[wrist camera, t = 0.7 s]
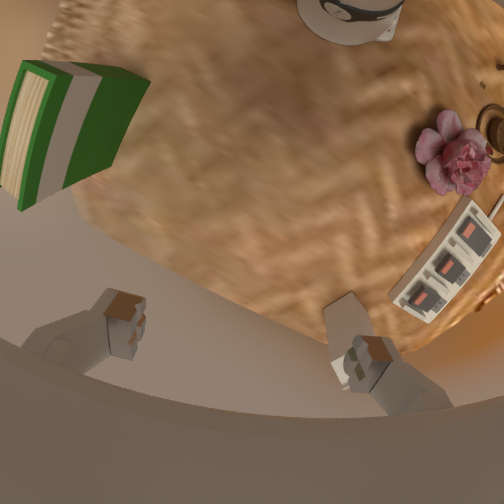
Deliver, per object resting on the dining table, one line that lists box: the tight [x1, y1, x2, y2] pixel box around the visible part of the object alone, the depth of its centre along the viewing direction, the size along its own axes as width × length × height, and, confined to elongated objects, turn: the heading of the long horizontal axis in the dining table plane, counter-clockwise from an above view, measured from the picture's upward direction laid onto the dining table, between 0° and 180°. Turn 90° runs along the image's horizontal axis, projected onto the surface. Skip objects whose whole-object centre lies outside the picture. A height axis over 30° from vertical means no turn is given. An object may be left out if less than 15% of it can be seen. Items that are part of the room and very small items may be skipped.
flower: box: [415, 109, 493, 196], centre depth 37 cm, size 15×15×10 cm
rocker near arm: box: [457, 216, 492, 257], centre depth 42 cm, size 4×7×2 cm, turn 61°
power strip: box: [389, 195, 504, 324], centre depth 46 cm, size 33×13×6 cm, turn 152°
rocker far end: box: [408, 284, 441, 313], centre depth 49 cm, size 4×7×2 cm, turn 62°
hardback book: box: [0, 60, 151, 212], centre depth 33 cm, size 18×7×24 cm, turn 147°
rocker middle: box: [434, 252, 466, 284], centre depth 46 cm, size 4×7×2 cm, turn 62°
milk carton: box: [324, 292, 375, 390], centre depth 50 cm, size 7×7×19 cm
